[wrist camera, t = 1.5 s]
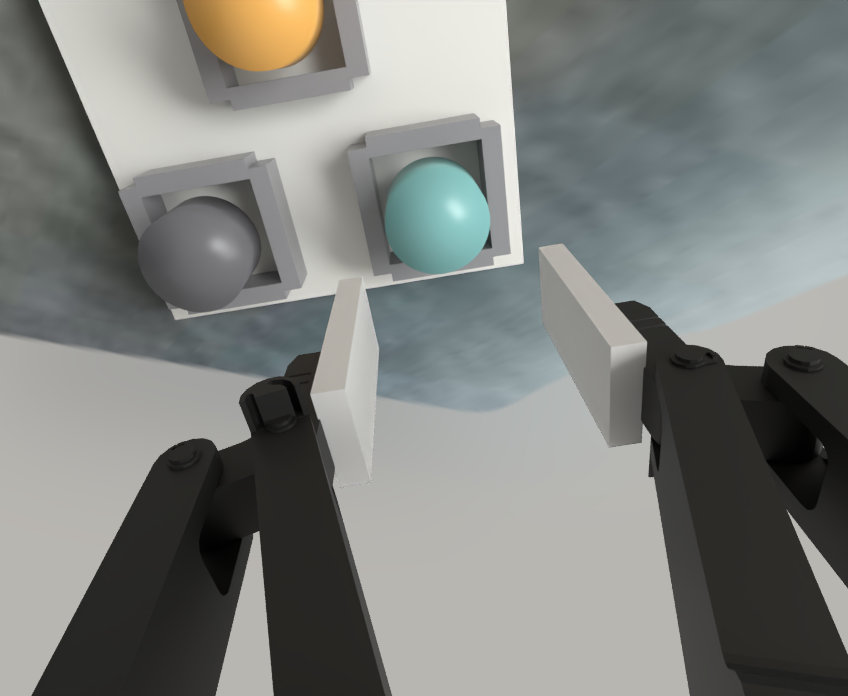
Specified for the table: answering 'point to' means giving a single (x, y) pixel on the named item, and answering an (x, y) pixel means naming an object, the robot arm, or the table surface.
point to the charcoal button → (199, 254)
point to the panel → (301, 128)
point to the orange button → (257, 30)
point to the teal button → (436, 216)
